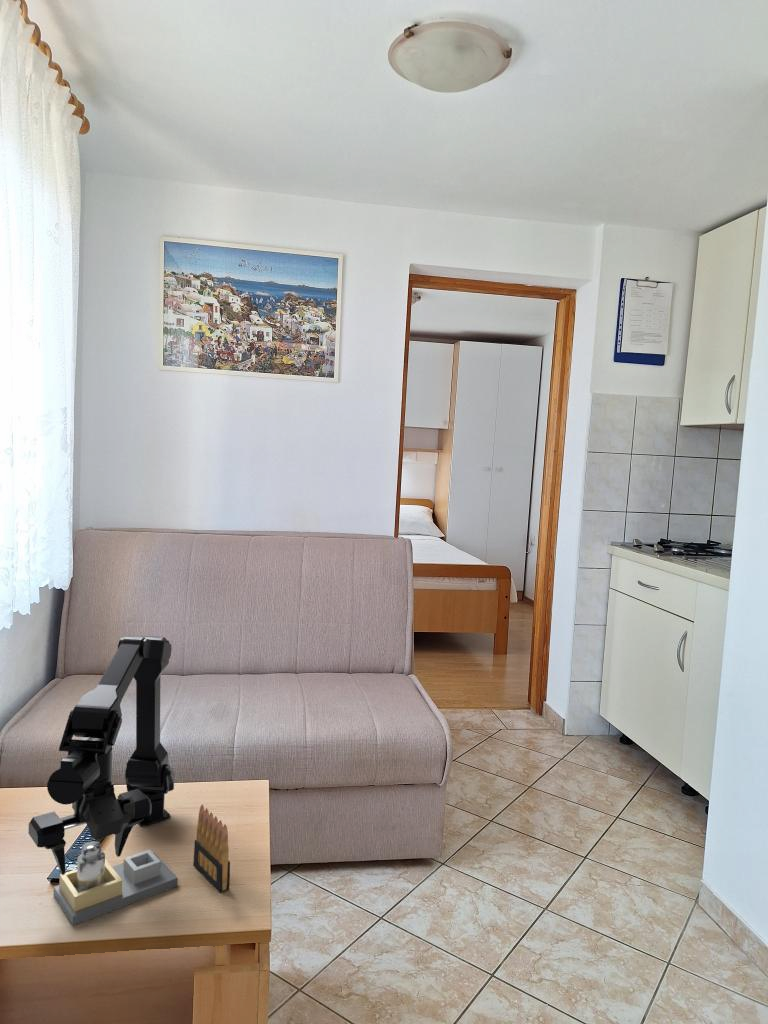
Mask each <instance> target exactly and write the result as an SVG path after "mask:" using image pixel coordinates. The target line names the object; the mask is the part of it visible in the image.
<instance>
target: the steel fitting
mask: <svg viewBox="0 0 768 1024" xmlns="http://www.w3.org/2000/svg"><path fill="white" fill-rule="evenodd" d="M105 859H106V853H105V852H104V851H102V844H101V842H99V841H94V840H93V841H92V840H91V841H88V842H86V843H83V845H82V846H81V854H80V855H78V857H77V859H76V861H77V862H76V869H77V887H76V890H77V892H78V893H80V892H82V891H85V890H88V889H91V888H94V887H97V886H99V885H102V884H104V876H105Z"/></svg>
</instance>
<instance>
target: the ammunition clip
mask: <svg viewBox="0 0 768 1024" xmlns="http://www.w3.org/2000/svg"><path fill="white" fill-rule="evenodd" d="M197 819H198V820H197V826H196V839H194V847H193V849H194V850H193V851H194V852H193V864H192V865H193V867H194V868H195V869H196V870H197V871H198V873H200V874H201V875H202V876H203V877H204V878H205V879H206V881H208V883H210V885H211V886H213V888H214V889H215V890H216V891H217V892H218V893H219V894H221V893H224V892H225V891H228V890H230V883H231V882H230V877H231V874H230V872H231V862H230V860H229V857H230V856H229V852H230V851H229V850H230V849H229V847H230V846H229V831H228V826H227V824H225V823H224V825H223V822H222V819H221V820H220V819H219V820H218V817H217V815H215V816H214V813H213V812H212V811H211V812H209V809H208V808H205V806H204V804H201V806H200V808H199V810H198V818H197Z"/></svg>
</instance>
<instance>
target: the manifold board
mask: <svg viewBox="0 0 768 1024" xmlns="http://www.w3.org/2000/svg"><path fill="white" fill-rule="evenodd" d="M178 879H179V878H178V877H177V875H175V873H174V872H173V870H171V869H170V868H169V867H168V866H167V864H166V863H165V862H164V861H163V860H162V859H161V857H159V856H158V855H157V854H156V853H155V852H153V851H152V850H151V849H147V850H145V851H141V852H138V853H136V854H133V855H129V856H126V857H123V862H122V863H120V864H116V865H113V866H111V864H110V863H109V861H108V860H107V859H106V858H105V876H104V884H102V885H99V886H97V887H94V888H91V889H88V890H85V891H82V892H80V893H78V892H77V890H76V887H77V868H76V869H73V870H69V871H65V874H64V875H62V874H61V873H60V874H59V883H58V885H55V886H53V897H54V898H55V900H56V902H57V903H58V904H59V906H60V908H61V910H62V911H63V913H64V915H65V916H66V917H67V919H68V921H69V922H70V924H71V925H72V926H75V925H77V924H81V923H82V922H83V923H84V922H86V921H89V920H91V919H93V918H96V917H99V916H102V915H104V914H106V913H109V912H112V911H115V910H118V909H121V908H123V907H126V906H128V905H130V904H133V903H136V902H138V901H141V900H143V899H147V898H150V897H152V896H154V895H156V894H159V893H162V892H164V891H168V890H170V889H173V888H176V887H178V883H179V881H178Z"/></svg>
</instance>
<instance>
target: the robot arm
mask: <svg viewBox="0 0 768 1024" xmlns="http://www.w3.org/2000/svg"><path fill="white" fill-rule="evenodd" d="M172 650H173V649H172V643H170V641H169V640H167V638H166V637H164V636H149V635H134V636H130V635H129V636H128V635H127V636H124V637H121V638H120V639H119V642H118V644H117V650H116V652H115V654H114V655H113V657H112V658H111V660H110V663H109V665H107V668H106V670H105V671H104V673H103V675H102V676H101V678H100V681H99V682H98V684H97V685H96V686H95V688H94V689H91V690H89V692H87V693H84V694H83V695H82V696H81V698H80V699H79V700H78V702H77V703H76V704H75V705H74V706H73V708H72V709H71V711H70V712H69V715H68V719H67V722H66V725H65V729H64V732H63V734H62V737H61V741H60V744H59V747H58V751H59V752H65V753H66V752H67V756H66V757H64V758H63V759H62V760H60V766H59V767H58V768H57V769H56V770H54V772H53V773H52V774H50V776H49V778H48V781H47V783H46V789H47V793H48V795H49V796H50V797H51V800H53V801H54V802H56V803H58V804H61V805H71V809H72V810H73V814H70V815H67V816H66V815H65V816H63V817H60V816H59V815H58V814H57V812H56V811H51V812H47V813H45V814H44V813H43V814H40V815H36V816H33V817H32V818H31V819H30V821H29V823H28V832H27V833H28V835H29V837H30V838H31V839H32V842H34V844H35V846H36V847H37V848H44V849H46V850H51V852H52V855H53V857H54V859H55V862H56V865H57V867H58V869H59V870H58V871H59V872H60V874H62V875H64V874H65V873H66V854H65V853H66V852H65V846H66V844H67V842H66V840H65V839H64V838H65V833H66V832H65V831H66V830H69V829H72V828H75V827H80V826H82V825H85V824H86V827H87V828H88V830H89V833H90V836H91V838H92V839H94V840H97V841H98V840H101V839H103V838H105V837H109V836H111V835H112V836H113V835H114V849H115V856H116V857H118V858H119V857H121V856H122V852H123V850H124V847H125V845H126V842H127V840H128V838H129V835H130V834H131V831H132V830H133V827H135V826H136V825H137V824H138V825H139V826H141V827H144V826H147V825H150V824H153V823H157V822H160V821H163V820H166V819H169V818H171V814H170V812H168V811H167V809H165V796H166V794H168V793H169V792H171V791H174V790H175V780H176V779H175V777H176V774H175V771H174V770H173V768H172V766H171V765H170V764H169V754H168V751H167V750H166V749H165V747H164V746H163V744H162V743H161V677H162V674H163V673H164V671H165V670H166V669H167V667H168V665H169V664H170V659H171V655H172ZM133 679H134V680H135V695H136V697H135V698H136V699H135V710H136V711H135V730H136V731H135V749H134V751H133V752H132V754H131V756H130V757H129V759H128V760H127V762H126V768H125V773H124V776H125V777H124V778H125V783H126V791H125V792H122V793H119V794H118V796H116V794H115V784H114V783H113V781H112V771H113V770H112V768H113V747H114V746H115V743H116V741H117V738H118V734H119V732H120V729H121V726H122V723H123V718H122V716H123V714H122V709H121V702H122V700H123V699H124V696H125V695H126V693H127V690H128V689H129V686H130V685H131V684H132V683H131V682H132V680H133ZM73 737H77V738H87V739H73Z"/></svg>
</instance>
